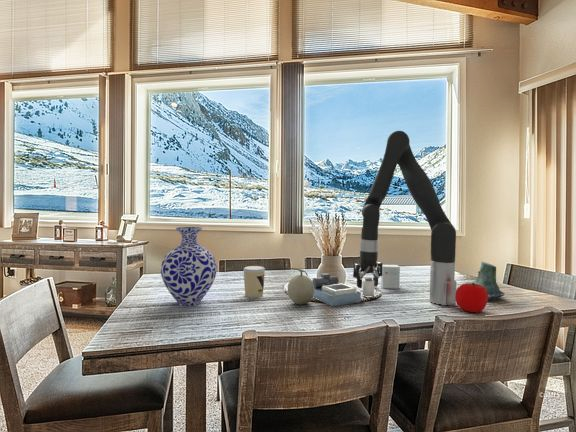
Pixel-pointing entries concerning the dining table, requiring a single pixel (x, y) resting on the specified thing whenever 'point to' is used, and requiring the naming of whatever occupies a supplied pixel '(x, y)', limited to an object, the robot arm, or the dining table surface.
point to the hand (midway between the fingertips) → (367, 286)
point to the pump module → (368, 287)
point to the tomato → (471, 297)
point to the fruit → (300, 288)
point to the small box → (390, 276)
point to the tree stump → (489, 281)
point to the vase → (188, 269)
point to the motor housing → (334, 291)
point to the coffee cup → (254, 281)
